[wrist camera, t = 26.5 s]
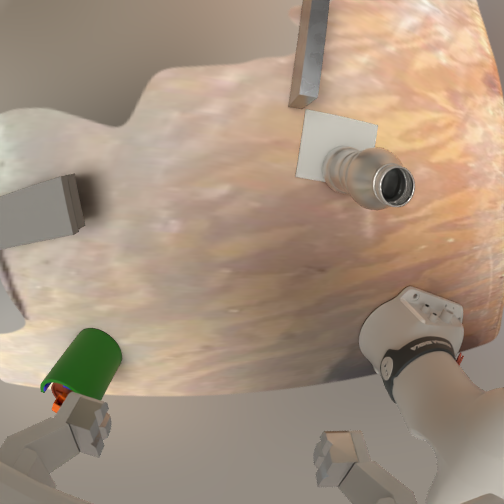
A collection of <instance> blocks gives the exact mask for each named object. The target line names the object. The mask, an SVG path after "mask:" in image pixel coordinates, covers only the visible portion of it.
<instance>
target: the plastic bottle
mask: <svg viewBox="0 0 504 504" xmlns="http://www.w3.org/2000/svg"><path fill="white" fill-rule="evenodd" d="M322 172H323V176H324V179H325V181H326V183H327V185H328V186H329V187H330V188H331V189H332V190H334V191H336V192H338V193H342V194H350V195H351V196H352V198H353V199H354V200H355V201H356V202H357V203H358V204H359V205H361V206H362V207H364V208H366V209H370V210H381V209H385V208H388V207H390V206H391V207H401V206H404V205H405V204H407V203H408V202H409V201H410V199H411V198H412V196H413V194H414V190H415V182H414V178H413V176H412V174H411V173H410V171H409V170H407V169H406V168H404V167H403V165H402V163H401V162H400V160H399V159H398V158H397V157H396V156H395V155H394V154H393V153H392V152H390V151H389V150H387V149H384V148H379V147H375V148H368V149H365V150H362V151H359V150H357V149H356V148H354V147H350V146H340V147H337V148H335V149H334V150H332V151H331V152H330V153H329V154H328V155H327V156H326V158H325V160H324V162H323V167H322Z"/></svg>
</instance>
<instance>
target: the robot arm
mask: <svg viewBox="0 0 504 504" xmlns="http://www.w3.org/2000/svg"><path fill="white" fill-rule="evenodd" d="M414 294H416V295H415V296H414ZM413 296H414V297H413ZM462 320H463V307H462V306H461V305H460V304H458V303H456V302H453V301H451V300H448V299H445V298H442V297H440V296H437V295H434V294H431V293H429V292H426V291H423V290H421V289H418V288H415V287H412V286H409V287H407V288H405V289H404V290H403V291H402V292H401V293H400V294H399V295H398V296H397V297H396V298H394V299H392V300H390V301H388V302H386V303H384V304H383V305H381V306H380V307H378V308H377V309H376V310H375V311H374V312H373V313H372V314H371V315H370V316H369V317H368V318H367V320H366V321H365V323H364V325H363V327H362V329H361V332H360V335H359V346H360V350H361V352H362V354H363V355H364V356H365V357H366V358H367V359H368V360H369V361H370V362H371V364H372V365H373V367H374V370H375V371H376V373H377V374H380V376H381V377H382V379H383V382H384V385H385V388H386V390H387V391H388V394H389V396H390V398H391V399H392V400H393V402H394V403H396V404H397V406H398V408H399V411H400V413H401V415H402V417H403V419H404V422H405V424H406V426H407V428H408V430H409V432H410V434H411V435H413V437H415V438H417V439H420V440H426V441H427V443H428V444H429V445H430V446H431V447H432V449H433V450H434V452H435V455H436V459H437V473H436V476H435V478H434V480H433V482H432V484H431V486H430V488H429V490H428V493H427V497H426V504H504V387H503V388H496V389H493V390H490V391H487V392H486V391H484V390H482V389H480V388H479V387H478V386H476V385H475V384H474V383H473V382H472V381H471V380H470V378H469V377H468V376H467V375H466V373H465V372H464V371H463V370H462V369H461V367H460V366H459V365H460V363H461V361H462V359H463V357H464V356H462V357H461V353H460V354H459V356H458V358H457V360H456V358H455V357H456V355H457V353H458V351H459V349H460V347H461V344H462V341H463V337H464V328H463V325H462ZM460 358H461V359H460ZM108 409H109V408H108V404H107V403H106V402H103V401H100V400H97V399H94V398H91V397H87V396H84V395H81V394H78V393H75V392H71V393H69V394H68V396H67V397H66V399H65V401H64V402H63V404H62V405H61V407H60V409H59V410H58V412H57V414H56V415H55V417H54V418H51V417H50V418H48V419H46V420H44V421H42V422H40V423H37V424H35V425H33V426H31V427H28V428H26V429H24V430H22V431H20V432H17V433H15V434H13V435H11V436H8V437H7V438H6V440H5V441H4V443H3V444H2V446H1V448H0V504H94V503H90V502H88V501H85V500H82V499H80V498H77V497H74V496H72V495H69V494H66V493H64V492H62V491H59V490H57V489H56V484H55V482H54V481H53V479H52V478H51V476H50V473H51V472H53V471H54V470H55V469H57V468H59V467H60V466H62V465H63V464H64V463H66V462H68V461H69V460H70V459H72V458H73V457H75V456H76V455H78V454H79V452H82V453H85V454H88V455H92V456H95V457H98V458H99V457H100V455H101V452H102V450H103V447H104V443H103V440H104V439H106V438H108V436H109V433H110V429H111V417H110V415H109V414H108V413H107V411H108ZM320 440H321V441H320V442H319V443H317V444H316V447H315V450H314V465H315V466H316V467H317V468H318V471H317V472H316V479H317V486H318V487H338V488H339V489H340V490H341V491H342V493H343V494H344V495H345V496H346V497H347V498H348V499H349V500H350V502H351V503H352V504H417V501H416V498H415V495H414V493H413V491H411V490H410V489H409V488H408V487H406V486H405V485H404V484H402V483H401V482H400V481H399V480H397V479H396V478H395V477H393V476H392V475H391V474H390V473H389V472H387V471H386V470H385V469H383V467H381V466H380V465H379V464H378V463H377V462H375V461H371V458H370V455H369V452H368V449H367V446H366V442H365V439H364V436H363V433H362V432H361V431H324V432H322V434H321V436H320Z"/></svg>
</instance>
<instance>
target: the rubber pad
mask: <svg viewBox="0 0 504 504" xmlns="http://www.w3.org/2000/svg"><path fill="white" fill-rule="evenodd" d="M377 129H378V125H375V124H371V123H367V122H363V121H359V120H355V119H350V118H346V117H342V116H337V115H333V114H328V113H323V112H318V111H313V110H308V109H306V110H305V116H304V123H303V130H302V137H301V143H300V150H299V156H298V163H297V169H296V175H295V177H299V178H305V179H311V180H317V181H322V182H326V181H325V179H324V176H323V172H322V167H323V162H324V160H325V158H326V156H327V155H328V154H329V153H330V152H331V151H332V150H334V149H335V148H337V147H340V146H350V147H354V148H356V149H357V150H359V151H362V150H365V149H368V148H375V142H376V136H377Z"/></svg>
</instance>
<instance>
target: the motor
mask: <svg viewBox="0 0 504 504" xmlns="http://www.w3.org/2000/svg"><path fill="white" fill-rule="evenodd" d="M121 361H122V353H121V350H120V348H119V346H118V344H117V343H116V342H115V341H114V339H113V338H111V337H110V336H109V335H108V334H106V333H105V332H103V331H101V330H98V329H93V328H88V329H84V330H82V331H81V332H80V333H79V334H78V336H77V337H76V338H75V339H74V341H73V342H72V343H71V344H70V346H69V347H68V348H67V350H66V351H65V352H64V354H63V355H62V356H61V358H60V359H59V360H58V362H57V363H56V364H55V366H54V367H53V368H52V370H51V371H50V372H49V374H48V375H47V376H46V378H45V379H44V380H43V382H42V383H41V387H40V388H41V392H43V393H45V391H46V390H47V388H48V387H49V385H50V384H51V382H54V383H53V384H52V387H51V389H52V393H53V395H54V396H55V398H56V400H55V402H54V404H53V407H52V411H54V412H56V413H57V412H58V410H59V409H60V407H61V405H62V404H63V402H64V401H65V399H66V397H67V396H68V394H69V393H71V392H75V393H78V394H81V395H84V396H87V397H91V398H94V399H97V400H100V401H101V399H102V397H103V395H104V394H105V392H106V390H107V388H108V386H109V384H110V382H111V380H112V378H113V376H114V374H115V373H116V371H117V369H118V367H119V365H120V363H121Z"/></svg>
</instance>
